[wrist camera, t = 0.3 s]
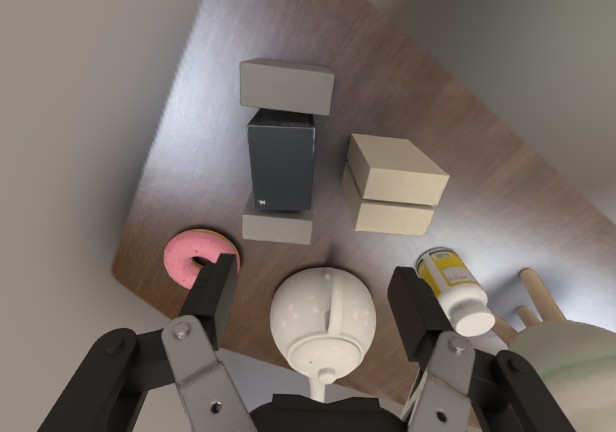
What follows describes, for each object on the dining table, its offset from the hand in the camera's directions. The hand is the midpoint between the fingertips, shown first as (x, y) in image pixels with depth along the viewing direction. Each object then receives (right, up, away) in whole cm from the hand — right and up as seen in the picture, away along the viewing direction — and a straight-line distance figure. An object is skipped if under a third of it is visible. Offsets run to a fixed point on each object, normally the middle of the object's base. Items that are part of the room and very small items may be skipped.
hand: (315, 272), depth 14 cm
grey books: (-3, +12, +19) cm, 22 cm away
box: (-3, +12, +19) cm, 23 cm away
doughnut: (-16, -3, +28) cm, 32 cm away
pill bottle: (+20, -4, +29) cm, 36 cm away
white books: (+8, +10, +20) cm, 24 cm away
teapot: (+2, -11, +33) cm, 35 cm away
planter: (+34, -11, +34) cm, 49 cm away
